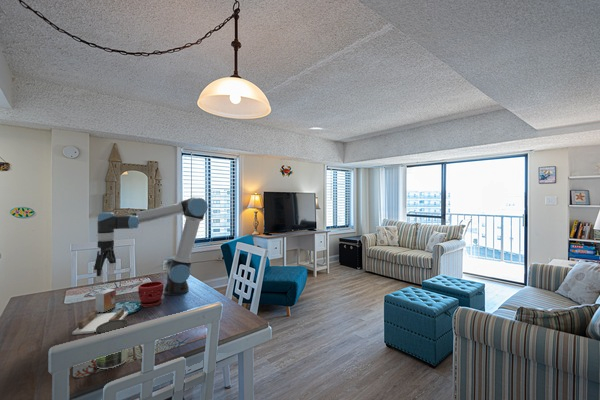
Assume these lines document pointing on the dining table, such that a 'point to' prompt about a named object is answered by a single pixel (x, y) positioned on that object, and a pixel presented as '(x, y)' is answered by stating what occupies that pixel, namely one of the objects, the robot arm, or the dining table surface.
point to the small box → (105, 300)
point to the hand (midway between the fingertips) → (105, 278)
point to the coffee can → (118, 357)
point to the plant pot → (150, 293)
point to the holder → (97, 321)
